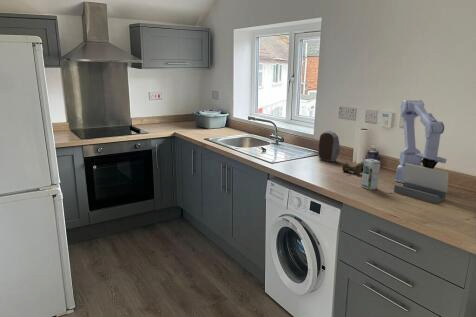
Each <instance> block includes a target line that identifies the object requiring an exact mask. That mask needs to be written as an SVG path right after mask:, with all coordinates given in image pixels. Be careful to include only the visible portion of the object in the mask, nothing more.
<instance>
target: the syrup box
mask: <svg viewBox="0 0 476 317" xmlns="http://www.w3.org/2000/svg"><path fill="white" fill-rule="evenodd" d="M363 162H364V168H363V170H362V178H361V183H360V184H361V186H360V187H361V188H364V189H367V190H369V191H370V190H376V189H378V183H379V176H380V169H381V160H376V159H373V158H366V159H364V161H363Z"/></svg>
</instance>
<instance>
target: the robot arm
mask: <svg viewBox="0 0 476 317" xmlns="http://www.w3.org/2000/svg"><path fill="white" fill-rule="evenodd" d="M400 116H401V117H402V119H403V132H404V133H403V135H404V149H402V150H401V151H400V152H399V164H398V165H397V167H396V171H395V179H394V182H397V183H401V184H403V182H405V163H407V164H412V165H416V166H421V165H422V167H426V168H431V169H435V167H436V166H437V164H438V163H441V164H447V158H444V157H440V156H438V152H439V147H440V140H441V135H442V134H443V133H444V131H445V124H444V122H443V121H438V120H437V119H436V118H435V116H434V115H433V113H431V112H427V110H426V108H425V103H424V101H423V100H421V99H419V100H410V99H404V100H402V102H401V104H400ZM418 117H420V118H419V119H420V120H419V121H420V122H421V124H422V125H423V127H424V131H425V134H424V137H425V144H424V151H423V153H421V150H420V149H418V148H417V147H416V135H415V134H416V133H415V119H416V118H418Z"/></svg>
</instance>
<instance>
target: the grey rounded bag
mask: <svg viewBox="0 0 476 317" xmlns="http://www.w3.org/2000/svg"><path fill="white" fill-rule="evenodd" d="M340 150H341V148H340V140H339V136H338V135H337V133H336V132H334V131H331V130H326V131H324V132H323V133H321V134H320V136H319V139H318V149H317V152H318V158H319V159H320V160H323V161H325V160H326V162H336V161H337V159H338V157H339V156H340V153H341V151H340Z"/></svg>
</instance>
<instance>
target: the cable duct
mask: <svg viewBox="0 0 476 317" xmlns="http://www.w3.org/2000/svg"><path fill="white" fill-rule="evenodd" d="M393 193H397V194H401V195H404V196H407V197H410V198H413V199H414V198H415V199H418V200H422V201H426V202H429V203H431V204H439V203H441V202H443V201H445V200H446V197H447V192H444V191H440V190H436V189H432V188H428V187H424V186H420V185H416V184H412V183H408V182H403V183H402V185H399V184H395V185H394V188H393Z"/></svg>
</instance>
